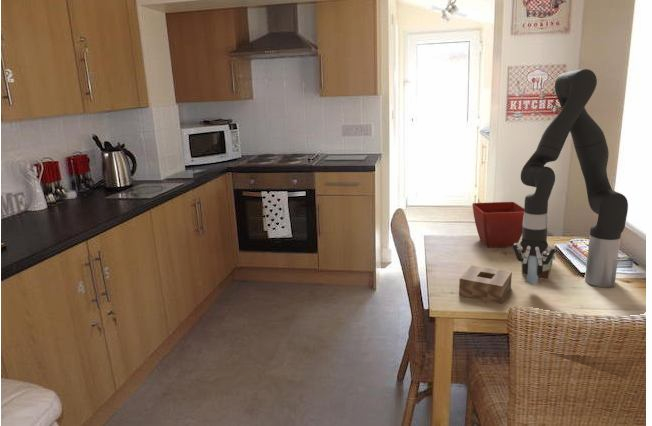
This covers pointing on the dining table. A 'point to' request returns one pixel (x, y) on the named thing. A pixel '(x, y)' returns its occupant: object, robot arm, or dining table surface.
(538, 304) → the dining table surface
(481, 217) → the plant pot
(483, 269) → the socket block
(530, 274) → the dowel
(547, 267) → the food container
